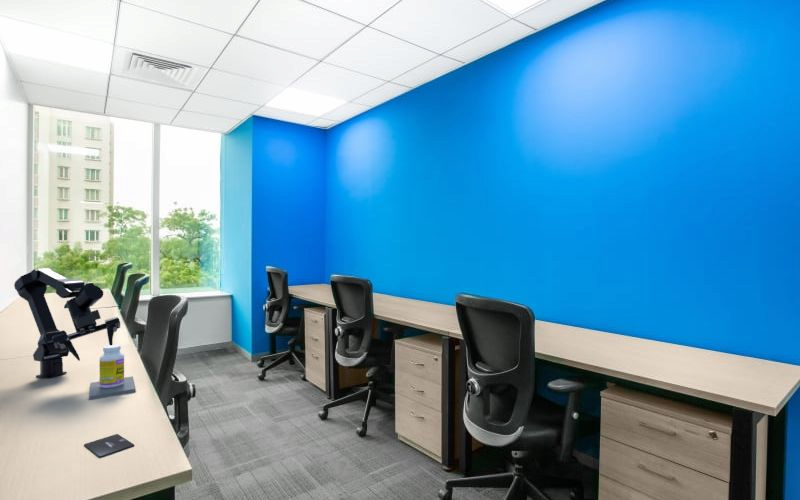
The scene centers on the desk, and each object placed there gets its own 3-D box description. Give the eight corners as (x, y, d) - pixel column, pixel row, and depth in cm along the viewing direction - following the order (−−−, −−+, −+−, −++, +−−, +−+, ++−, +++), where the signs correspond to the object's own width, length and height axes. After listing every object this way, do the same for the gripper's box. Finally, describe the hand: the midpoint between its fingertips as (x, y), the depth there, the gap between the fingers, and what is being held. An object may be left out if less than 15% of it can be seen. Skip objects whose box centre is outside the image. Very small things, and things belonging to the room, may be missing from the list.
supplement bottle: (117, 388, 134) (117, 348, 134) (95, 389, 133) (94, 349, 133) (128, 381, 141) (127, 343, 141) (106, 382, 140) (106, 344, 140)
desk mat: (90, 385, 140) (90, 382, 140) (132, 379, 147) (132, 376, 147) (88, 399, 127) (88, 396, 127) (135, 391, 134) (135, 388, 134)
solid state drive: (117, 436, 103) (117, 433, 103) (134, 447, 97) (134, 444, 97) (83, 447, 98) (83, 444, 98) (99, 459, 92) (99, 456, 92)
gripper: (43, 315, 133) (58, 359, 130) (112, 296, 145) (127, 336, 142) (48, 326, 141) (62, 368, 138) (112, 307, 153) (127, 346, 150)
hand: (95, 354), depth 142 cm, fingers open, 9 cm apart
